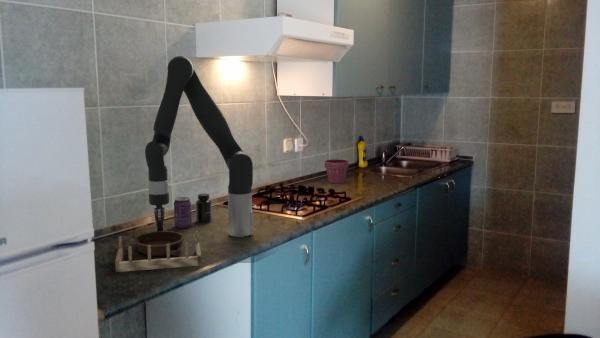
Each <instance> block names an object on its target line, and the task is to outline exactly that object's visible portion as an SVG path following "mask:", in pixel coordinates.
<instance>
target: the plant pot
mask: <svg viewBox="0 0 600 338" xmlns="http://www.w3.org/2000/svg"><path fill="white" fill-rule="evenodd" d="M349 163H350V162H349V160H347V159H338V158H337V159H326V160H324V167H325V169H326V174H327V175H326V176H327V179H328V183H330V184H343V183H345V180H346V175H347V171H348V168H349V166H350V165H349Z"/></svg>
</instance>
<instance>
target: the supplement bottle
mask: <svg viewBox="0 0 600 338" xmlns="http://www.w3.org/2000/svg"><path fill="white" fill-rule="evenodd" d="M197 199H198V200H196V202H195V221H196V223H199V224H207V223H211V222H212V221H213V220H212V219H213V215H212V214H213V213H212V212H213V211H212V209H213V208H212V207H213V204H212V201H211V199H210V194H209V193H206V192H205V193H198V194H197Z"/></svg>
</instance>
